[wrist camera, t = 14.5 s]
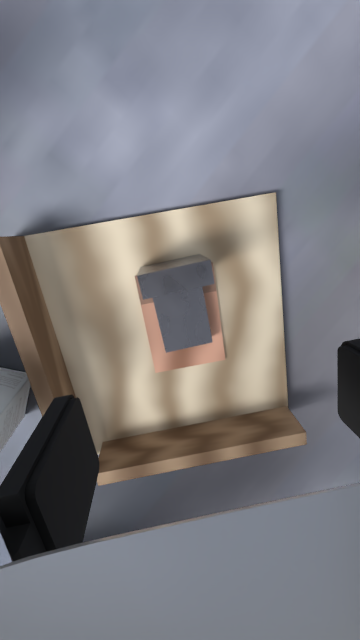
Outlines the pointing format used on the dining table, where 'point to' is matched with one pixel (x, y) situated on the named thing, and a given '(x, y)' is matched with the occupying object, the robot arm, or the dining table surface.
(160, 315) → the gray t-shaped block
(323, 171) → the dining table surface
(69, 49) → the dining table surface
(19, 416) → the skincare box
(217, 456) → the corner arena
